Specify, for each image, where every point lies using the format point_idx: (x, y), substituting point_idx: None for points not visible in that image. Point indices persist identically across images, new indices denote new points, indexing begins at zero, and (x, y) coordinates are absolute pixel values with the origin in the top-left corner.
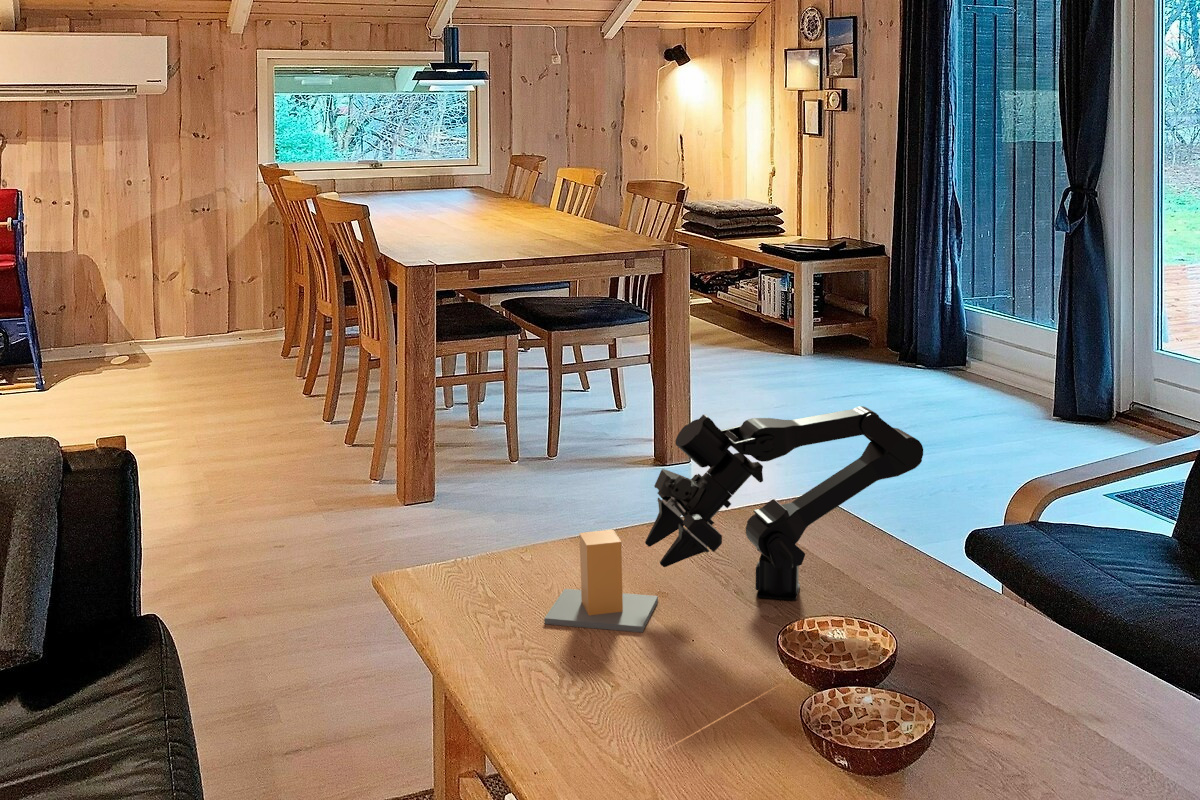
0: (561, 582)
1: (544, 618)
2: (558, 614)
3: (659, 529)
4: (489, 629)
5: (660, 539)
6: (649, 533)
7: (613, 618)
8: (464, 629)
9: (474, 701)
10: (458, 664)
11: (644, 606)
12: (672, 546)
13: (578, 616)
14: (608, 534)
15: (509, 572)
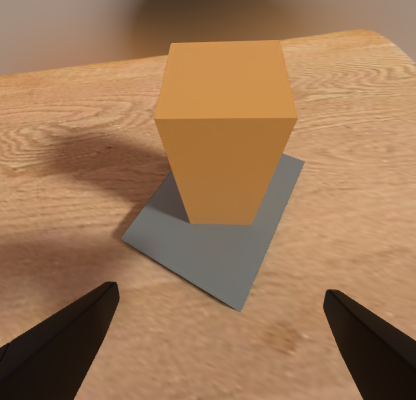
0: (353, 172)
1: None
2: None
3: (398, 389)
4: None
5: (352, 373)
6: (374, 316)
7: (169, 203)
8: None
9: (75, 69)
10: (149, 65)
11: (198, 267)
12: (18, 348)
13: None
14: (245, 97)
15: (392, 119)
